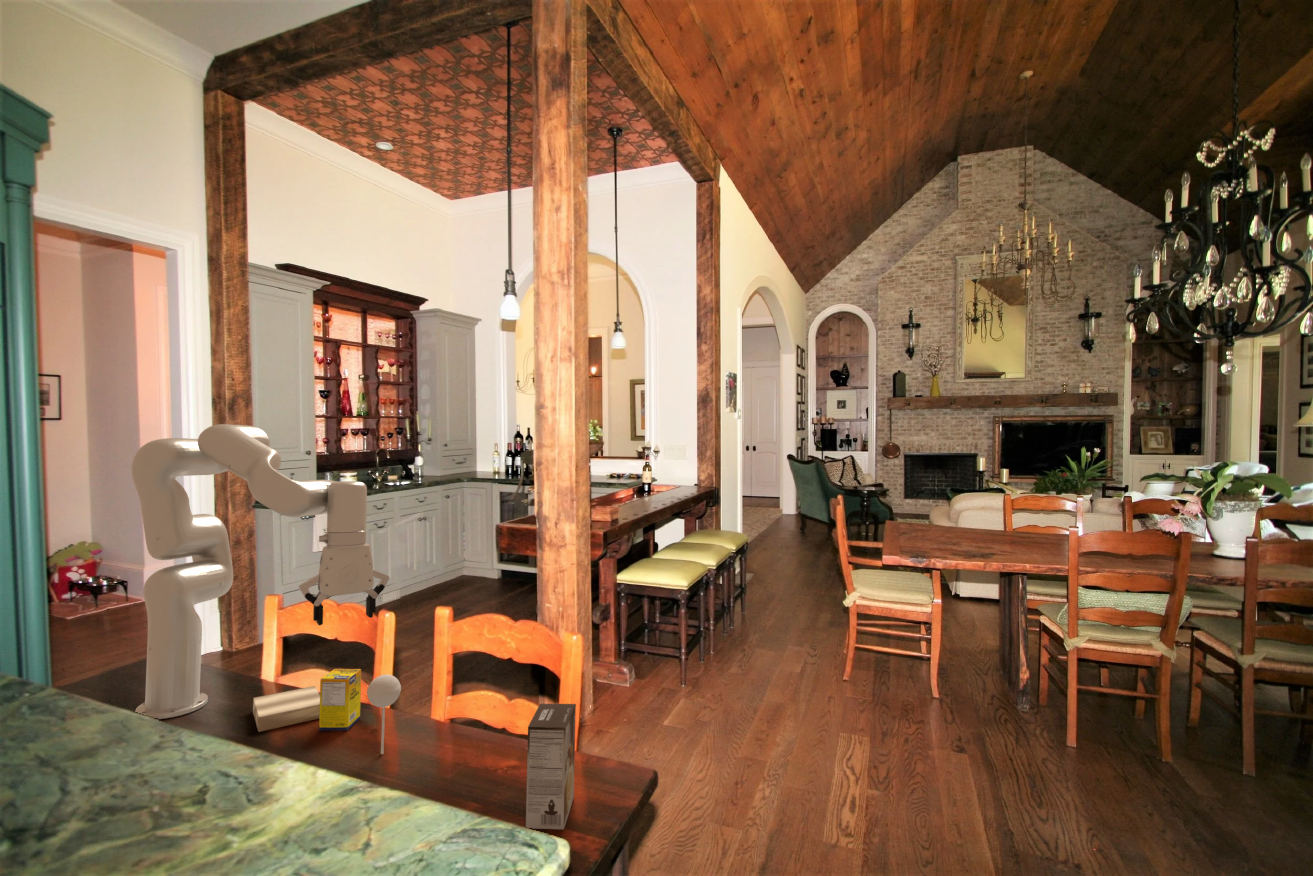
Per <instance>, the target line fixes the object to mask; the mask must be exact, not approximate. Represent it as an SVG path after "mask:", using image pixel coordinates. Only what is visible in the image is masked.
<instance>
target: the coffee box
mask: <svg viewBox="0 0 1313 876" xmlns="http://www.w3.org/2000/svg"><path fill="white" fill-rule="evenodd" d="M576 706H577V704H576V703H539V705H538V707H537V709H536V711H535V713H534V714H533V717H532V718H531V720H530V722H529V724H528V726H527V753H526V754H527V758H526V761H527V762H526V794H525V795H526V797H525V799H526V800H525V804H526V805H525V828H526V827H527V828H526V829H530V828H532V829H533V830H534V829H535V830H537V829H539V830H565V828H566V825H567V821H568V818H569V814H570V811H571V807H572V805H573V801H574V796H575V791H574V790H575V755H576V752H575V751H576V750H575V749H576V746H575V745H576V712H577V711H576Z"/></svg>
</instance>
